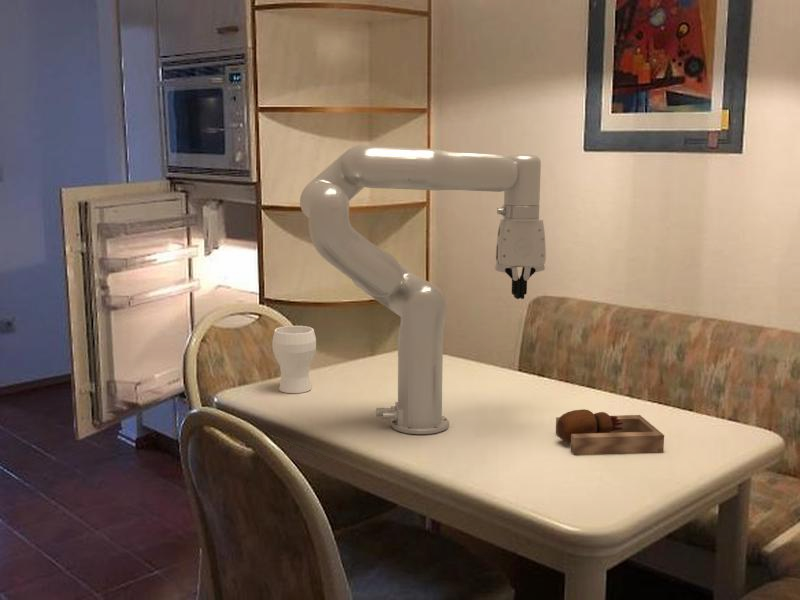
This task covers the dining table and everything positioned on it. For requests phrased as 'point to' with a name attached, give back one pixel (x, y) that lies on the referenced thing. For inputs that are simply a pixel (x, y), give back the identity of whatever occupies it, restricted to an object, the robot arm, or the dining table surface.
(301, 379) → the cup
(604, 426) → the wooden figurine
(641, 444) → the u rest
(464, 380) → the dining table surface
